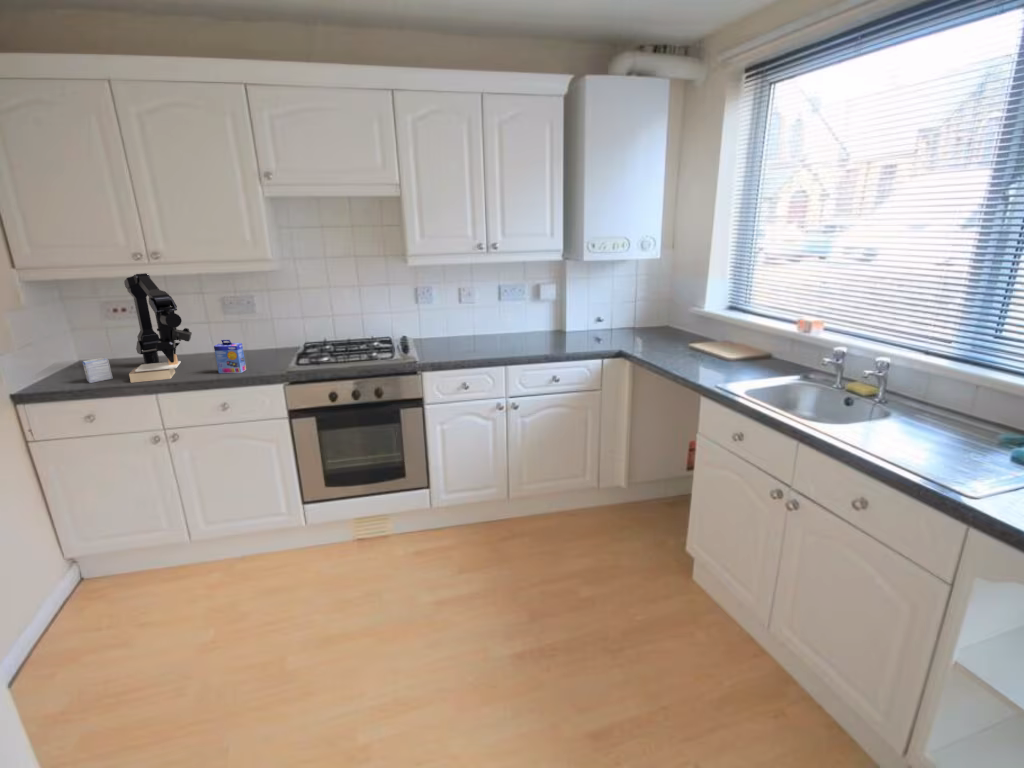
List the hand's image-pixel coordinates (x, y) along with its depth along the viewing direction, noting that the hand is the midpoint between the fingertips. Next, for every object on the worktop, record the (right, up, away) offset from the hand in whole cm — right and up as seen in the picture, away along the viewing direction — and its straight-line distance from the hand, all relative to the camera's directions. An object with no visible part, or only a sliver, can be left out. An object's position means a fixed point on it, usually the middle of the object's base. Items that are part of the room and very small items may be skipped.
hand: (173, 361), depth 226 cm
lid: (-5, -2, -1) cm, 6 cm away
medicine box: (-28, -8, -4) cm, 29 cm away
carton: (-7, -7, -1) cm, 10 cm away
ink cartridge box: (+22, -4, +6) cm, 23 cm away
